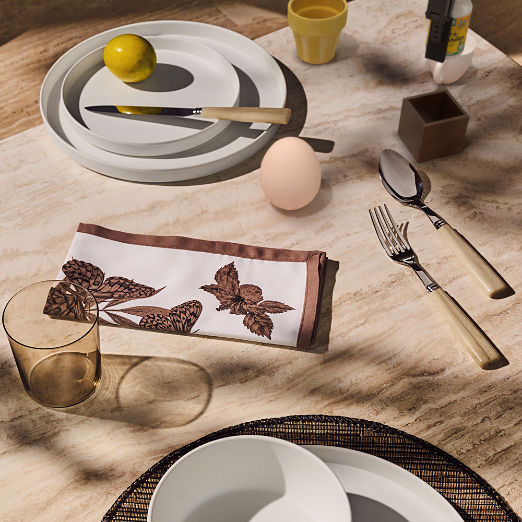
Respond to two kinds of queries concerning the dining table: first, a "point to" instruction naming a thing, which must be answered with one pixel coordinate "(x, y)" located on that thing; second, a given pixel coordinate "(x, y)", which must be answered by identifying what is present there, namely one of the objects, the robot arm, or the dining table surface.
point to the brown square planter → (432, 125)
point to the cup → (453, 64)
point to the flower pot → (317, 27)
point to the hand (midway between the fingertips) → (443, 48)
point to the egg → (290, 173)
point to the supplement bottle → (457, 28)
